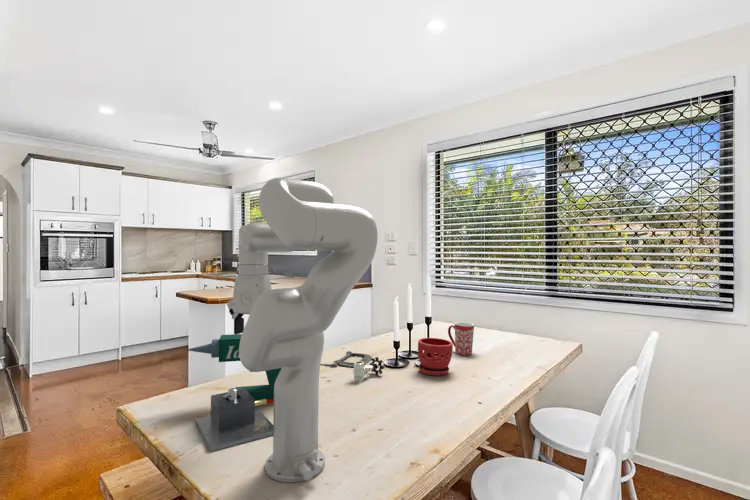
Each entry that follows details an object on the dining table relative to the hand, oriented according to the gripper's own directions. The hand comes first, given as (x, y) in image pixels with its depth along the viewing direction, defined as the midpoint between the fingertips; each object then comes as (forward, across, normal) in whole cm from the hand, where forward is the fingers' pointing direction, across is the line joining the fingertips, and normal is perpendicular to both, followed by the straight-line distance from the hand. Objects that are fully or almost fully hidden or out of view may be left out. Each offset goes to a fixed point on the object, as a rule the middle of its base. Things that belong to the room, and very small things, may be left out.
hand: (253, 334), depth 105 cm
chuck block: (+23, -2, -4) cm, 24 cm away
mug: (+23, +37, +95) cm, 105 cm away
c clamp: (+24, -3, +61) cm, 66 cm away
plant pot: (+24, +34, +63) cm, 75 cm away
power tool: (+23, -12, +9) cm, 28 cm away
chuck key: (+22, -5, -3) cm, 23 cm away
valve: (+24, +13, +46) cm, 53 cm away
